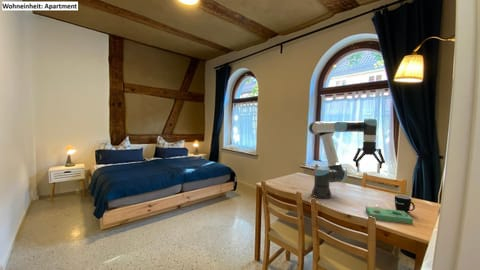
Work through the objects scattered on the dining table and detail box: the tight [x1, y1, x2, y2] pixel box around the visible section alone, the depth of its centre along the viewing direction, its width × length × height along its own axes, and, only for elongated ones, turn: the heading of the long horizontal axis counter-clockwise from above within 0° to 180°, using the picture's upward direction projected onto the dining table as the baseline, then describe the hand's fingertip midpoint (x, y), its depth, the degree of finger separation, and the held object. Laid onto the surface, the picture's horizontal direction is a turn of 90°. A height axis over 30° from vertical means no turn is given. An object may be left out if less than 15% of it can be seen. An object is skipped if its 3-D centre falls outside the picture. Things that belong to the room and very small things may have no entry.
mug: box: [394, 193, 416, 214], centre depth 144 cm, size 12×9×10 cm
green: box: [365, 206, 414, 225], centre depth 136 cm, size 22×12×3 cm, turn 73°
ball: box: [373, 204, 382, 212], centre depth 137 cm, size 4×4×4 cm
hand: (368, 172), depth 146 cm, fingers open, 12 cm apart
